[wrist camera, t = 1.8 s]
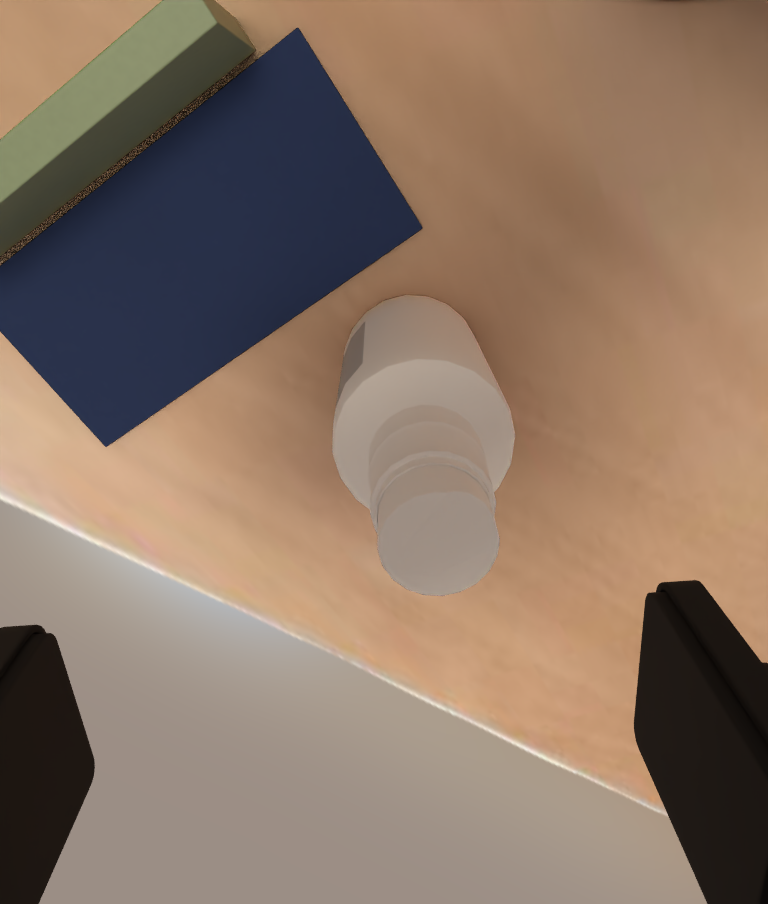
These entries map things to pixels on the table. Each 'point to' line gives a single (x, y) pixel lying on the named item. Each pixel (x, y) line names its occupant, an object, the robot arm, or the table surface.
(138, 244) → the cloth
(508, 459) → the white capped bottle
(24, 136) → the backboard
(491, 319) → the table surface
